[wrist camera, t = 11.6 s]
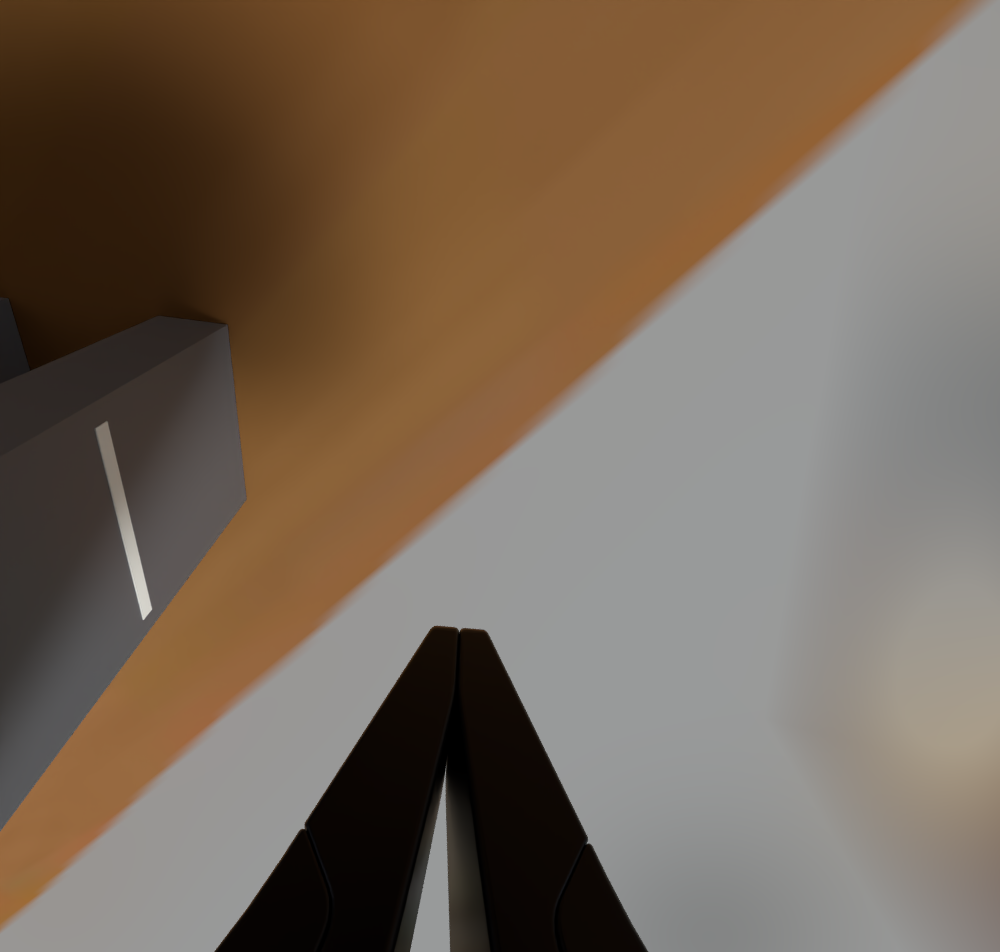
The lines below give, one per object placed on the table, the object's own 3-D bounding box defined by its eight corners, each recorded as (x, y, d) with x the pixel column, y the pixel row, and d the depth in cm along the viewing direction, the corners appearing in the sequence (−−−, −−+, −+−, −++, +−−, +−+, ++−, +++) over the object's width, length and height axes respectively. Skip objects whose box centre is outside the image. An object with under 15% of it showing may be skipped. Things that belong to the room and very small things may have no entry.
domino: (228, 324, 13) (-311, 639, 4) (247, 499, 15) (-70, 928, 7) (157, 315, 13) (-553, 621, 4) (187, 493, 15) (-216, 922, 6)
